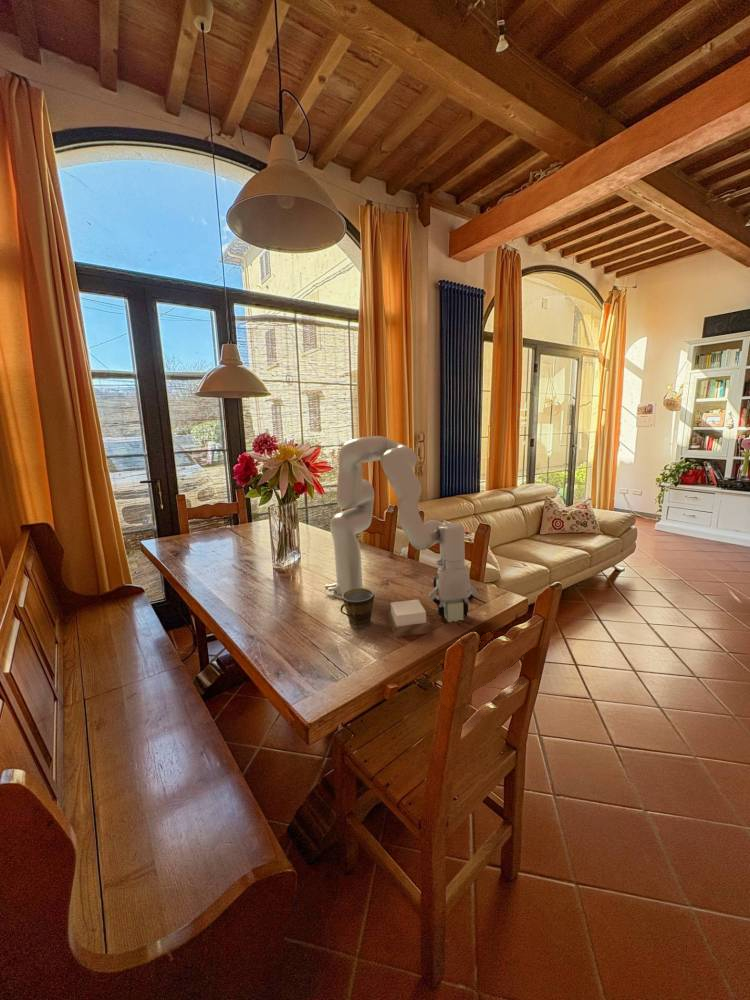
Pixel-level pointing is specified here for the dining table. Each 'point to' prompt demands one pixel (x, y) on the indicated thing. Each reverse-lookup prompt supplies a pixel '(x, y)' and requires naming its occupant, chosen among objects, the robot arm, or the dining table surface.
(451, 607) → the green block
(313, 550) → the dining table surface
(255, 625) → the dining table surface
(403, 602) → the white slab
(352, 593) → the ceramic cup
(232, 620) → the dining table surface
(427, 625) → the walnut slab
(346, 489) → the robot arm
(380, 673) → the dining table surface
